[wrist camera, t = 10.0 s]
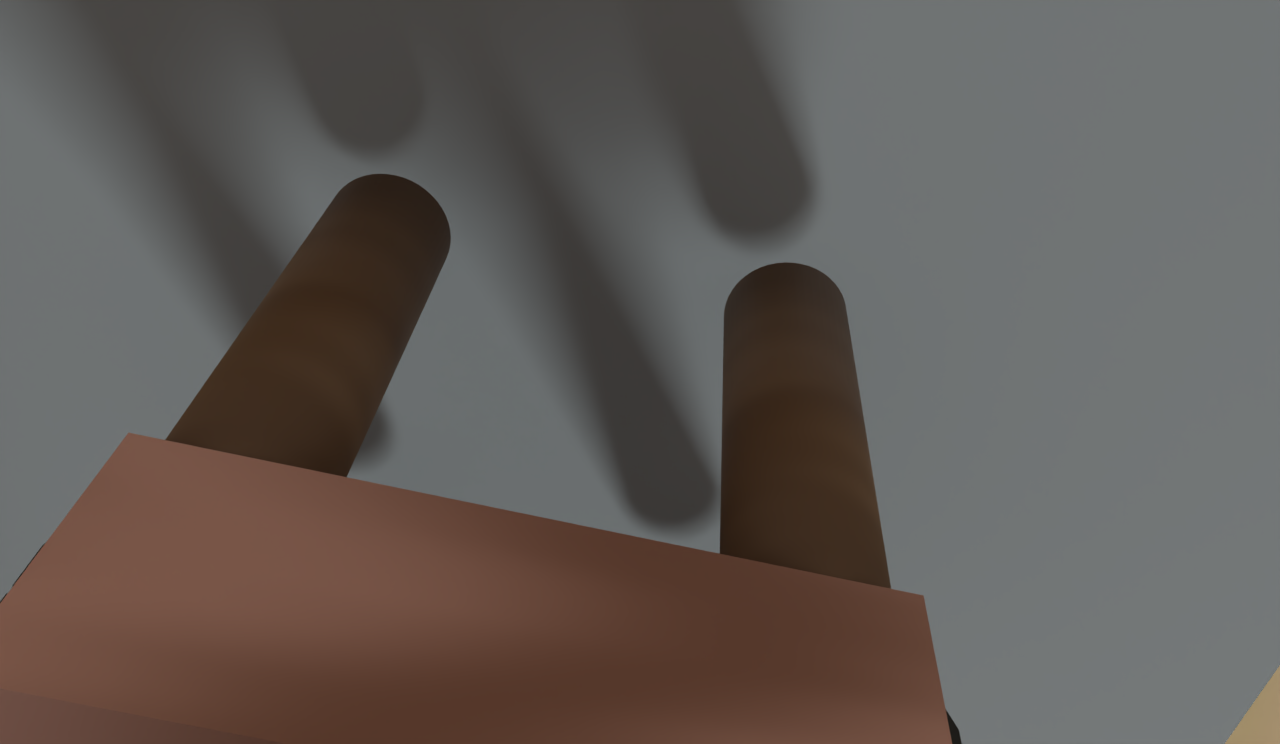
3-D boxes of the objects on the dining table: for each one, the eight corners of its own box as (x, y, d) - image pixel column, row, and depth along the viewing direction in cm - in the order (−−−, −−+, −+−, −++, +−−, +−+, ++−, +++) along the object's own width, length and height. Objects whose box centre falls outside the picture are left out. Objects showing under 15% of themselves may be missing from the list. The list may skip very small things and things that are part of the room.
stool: (861, 277, 13) (976, 876, 7) (731, 651, 17) (729, 1300, 10) (332, 161, 13) (-57, 676, 7) (303, 566, 16) (20, 1179, 10)
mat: (1080, 893, 22) (1091, 933, 21) (-29, 678, 21) (-54, 713, 20) (1655, 37, 13) (1705, 59, 13) (-176, -398, 12) (-229, -399, 12)
